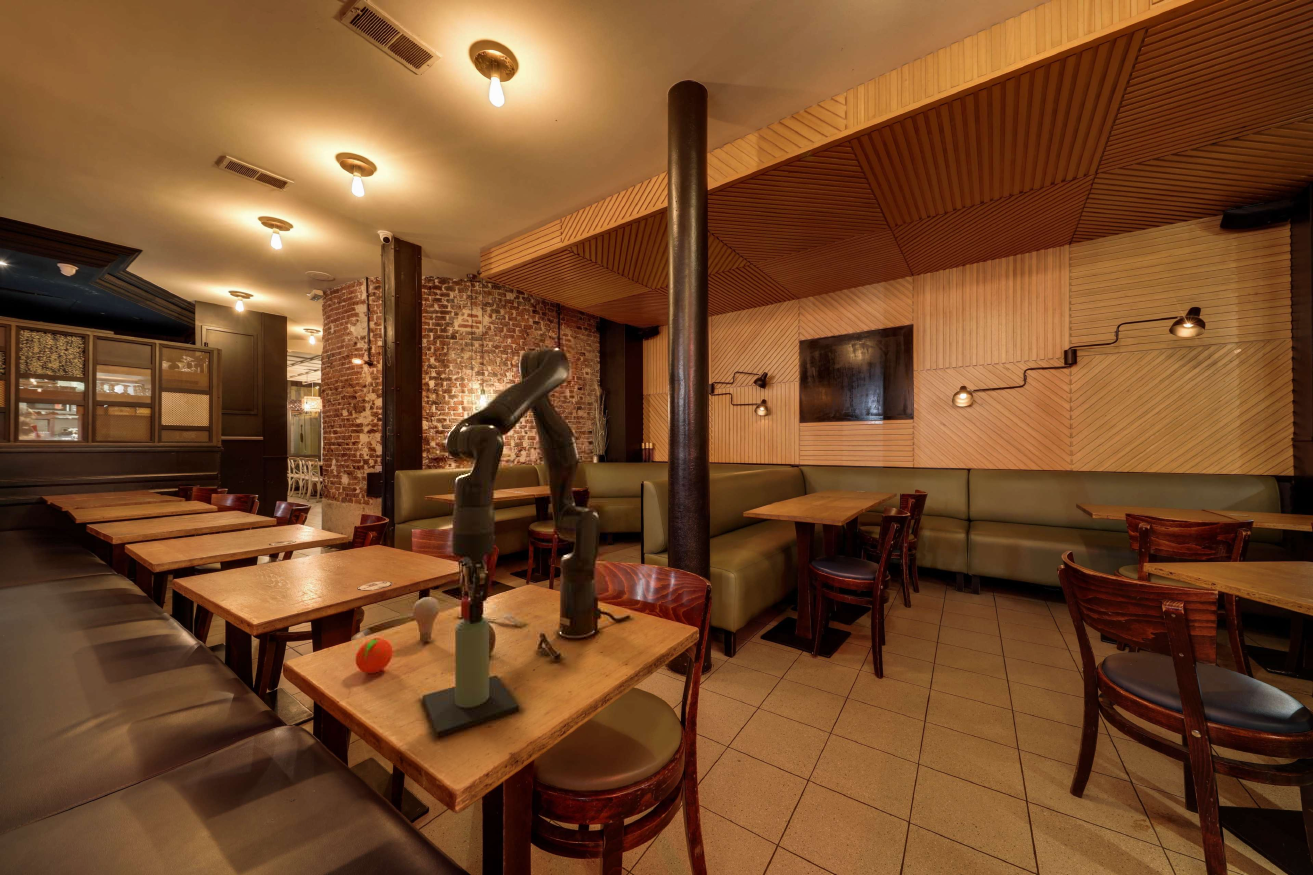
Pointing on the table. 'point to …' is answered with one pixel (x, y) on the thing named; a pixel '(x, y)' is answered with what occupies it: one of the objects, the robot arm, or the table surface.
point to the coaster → (456, 718)
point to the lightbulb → (426, 616)
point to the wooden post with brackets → (554, 654)
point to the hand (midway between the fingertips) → (472, 618)
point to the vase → (491, 639)
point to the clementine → (374, 655)
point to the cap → (466, 607)
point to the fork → (508, 617)
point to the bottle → (471, 663)
